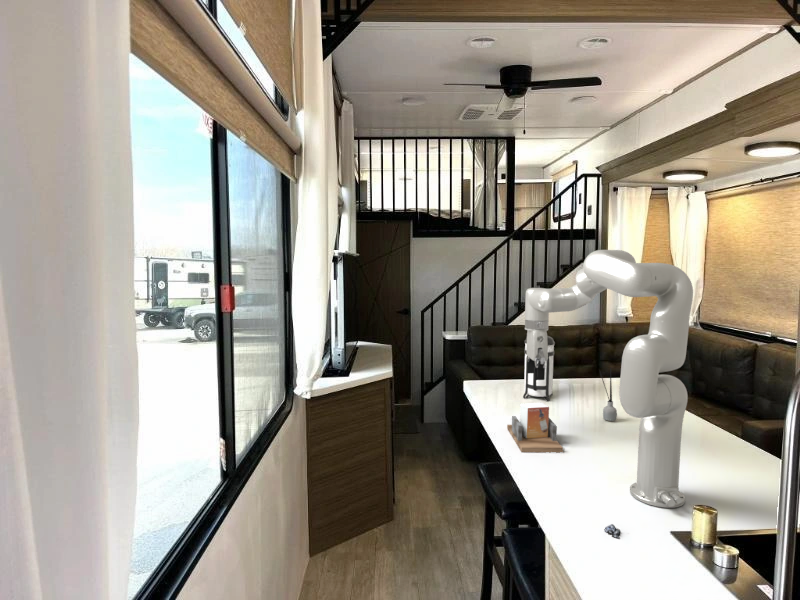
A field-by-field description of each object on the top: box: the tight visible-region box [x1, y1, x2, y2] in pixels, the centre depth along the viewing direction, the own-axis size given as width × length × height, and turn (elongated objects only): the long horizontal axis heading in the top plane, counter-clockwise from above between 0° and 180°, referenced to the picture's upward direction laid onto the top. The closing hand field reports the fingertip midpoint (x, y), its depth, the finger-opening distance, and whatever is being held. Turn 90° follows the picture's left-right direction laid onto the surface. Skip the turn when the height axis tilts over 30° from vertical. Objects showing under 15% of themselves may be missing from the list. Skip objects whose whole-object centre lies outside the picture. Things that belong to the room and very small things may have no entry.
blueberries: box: [603, 523, 622, 540], centre depth 112 cm, size 7×8×2 cm
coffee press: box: [522, 335, 556, 402], centre depth 220 cm, size 17×16×30 cm
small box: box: [519, 402, 550, 439], centre depth 169 cm, size 8×6×10 cm
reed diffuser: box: [598, 367, 618, 422], centre depth 190 cm, size 10×7×20 cm
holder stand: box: [506, 415, 564, 454], centre depth 169 cm, size 22×13×6 cm, turn 179°
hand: (535, 376), depth 167 cm, fingers open, 9 cm apart
